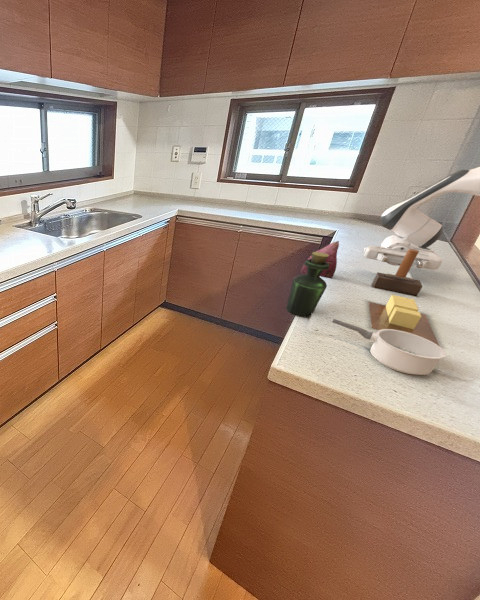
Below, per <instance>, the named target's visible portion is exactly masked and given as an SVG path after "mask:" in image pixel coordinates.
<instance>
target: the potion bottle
mask: <svg viewBox="0 0 480 600" xmlns="http://www.w3.org/2000/svg"><path fill="white" fill-rule="evenodd" d="M311 255H312V259H308V258H307V259H308V260H307V259H306V260H305V261H304V263H303V265H305V266H307V274H303V273H302V274H299V275H296V276H295V277H294V278H293V279H292V282H291V287H290V290H289V295H288V299H287V302H286V303H287V304H286V308H285V309H286V311H287V312H288V313H289V314H291V315H293V316H296V317H299V318H309V317H311V316H312V315H313V313H314V312H315V310H316V308H317V306H318V304H319V302H320V300H321V298H322V296H323V295H324V293H325V292H326V289H327V287H328V285H327V282H326V281H325V280H324V279H323V278H322V277H321V276H320V277H319V275H320V274H321V273H322V271H323V270H327V269H329V264H328V263H327V262H325V261H326V260H327V258H328V257H329V255H328V254H325V253H321V252H316V251H313V252H312V253H311Z"/></svg>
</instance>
